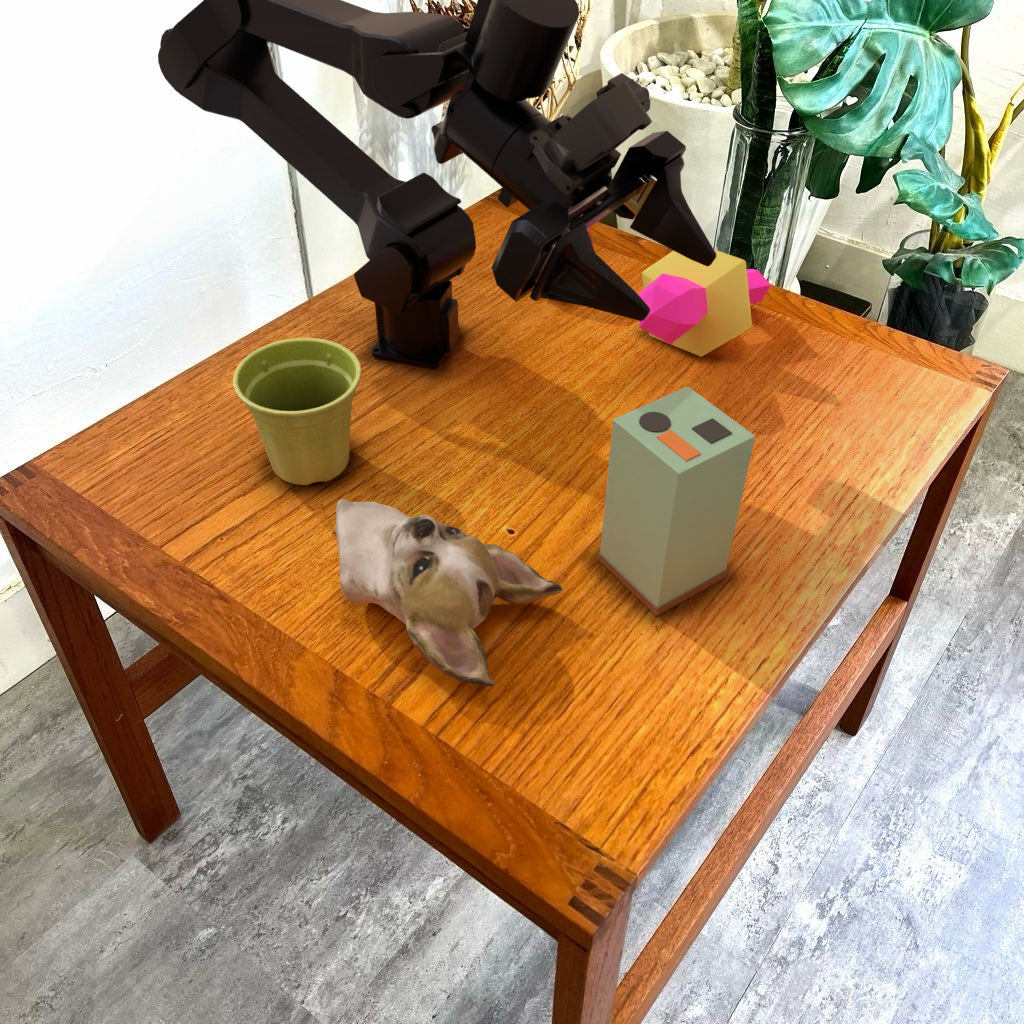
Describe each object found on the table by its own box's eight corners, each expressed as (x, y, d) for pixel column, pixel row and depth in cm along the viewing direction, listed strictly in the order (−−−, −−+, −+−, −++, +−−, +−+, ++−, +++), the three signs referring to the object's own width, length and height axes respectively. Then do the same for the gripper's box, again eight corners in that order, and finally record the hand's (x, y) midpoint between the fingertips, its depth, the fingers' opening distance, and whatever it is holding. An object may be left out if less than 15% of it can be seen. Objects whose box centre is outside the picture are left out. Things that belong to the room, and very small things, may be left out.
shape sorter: (596, 559, 75) (610, 417, 66) (665, 523, 78) (687, 382, 69) (656, 617, 71) (679, 473, 62) (726, 577, 74) (758, 435, 65)
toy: (794, 333, 98) (784, 222, 95) (712, 373, 84) (698, 243, 81) (698, 340, 104) (686, 235, 101) (607, 378, 90) (591, 258, 87)
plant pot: (392, 444, 84) (384, 356, 78) (330, 515, 78) (316, 426, 72) (295, 413, 87) (280, 326, 81) (228, 480, 81) (206, 391, 75)
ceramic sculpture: (383, 437, 71) (576, 523, 66) (387, 524, 77) (563, 609, 72) (284, 532, 64) (490, 635, 59) (297, 619, 70) (485, 719, 65)
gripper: (471, 97, 63) (663, 261, 61) (634, 16, 74) (802, 153, 72) (424, 229, 72) (590, 376, 70) (576, 139, 82) (723, 264, 81)
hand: (681, 287), depth 73 cm, fingers open, 9 cm apart
